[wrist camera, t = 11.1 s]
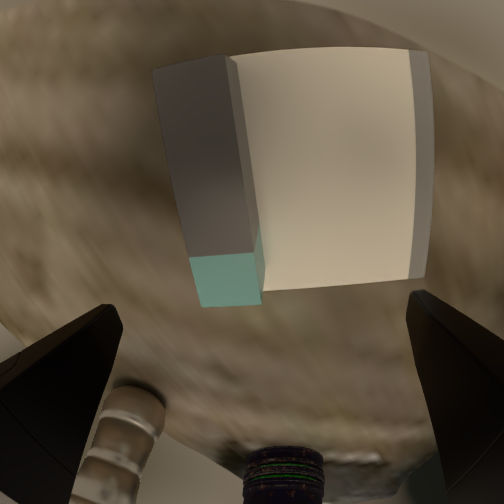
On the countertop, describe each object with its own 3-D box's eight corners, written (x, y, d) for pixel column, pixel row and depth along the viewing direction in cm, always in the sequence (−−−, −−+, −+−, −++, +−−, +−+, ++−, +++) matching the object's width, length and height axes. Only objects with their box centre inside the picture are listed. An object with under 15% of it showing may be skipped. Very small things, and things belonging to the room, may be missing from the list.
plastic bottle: (100, 379, 29) (27, 537, 11) (148, 373, 27) (75, 566, 9) (135, 415, 31) (82, 562, 13) (183, 412, 29) (136, 584, 12)
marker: (236, 63, 14) (224, 53, 11) (265, 269, 19) (261, 304, 16) (177, 74, 14) (151, 70, 11) (214, 272, 20) (201, 307, 17)
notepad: (420, 53, 13) (427, 51, 12) (418, 269, 19) (424, 277, 19) (159, 74, 15) (152, 73, 14) (201, 286, 22) (198, 294, 21)
